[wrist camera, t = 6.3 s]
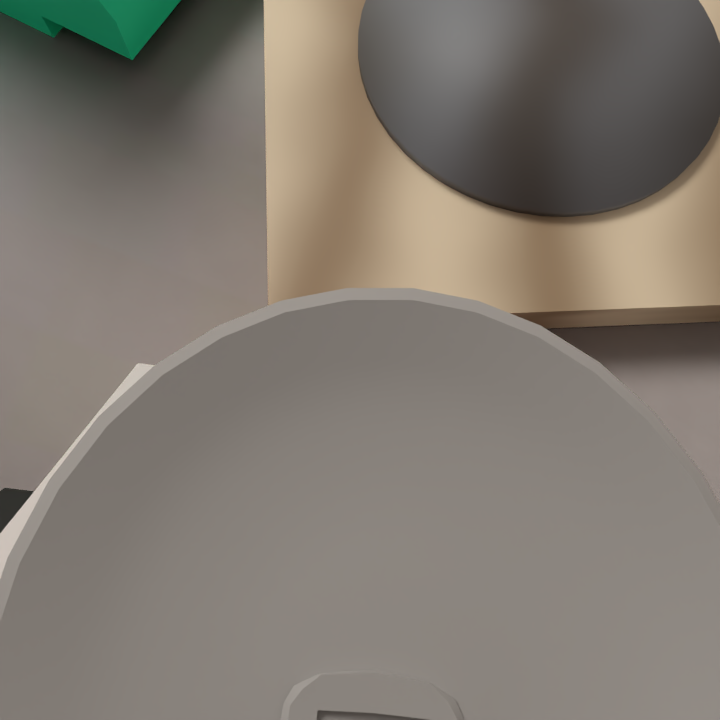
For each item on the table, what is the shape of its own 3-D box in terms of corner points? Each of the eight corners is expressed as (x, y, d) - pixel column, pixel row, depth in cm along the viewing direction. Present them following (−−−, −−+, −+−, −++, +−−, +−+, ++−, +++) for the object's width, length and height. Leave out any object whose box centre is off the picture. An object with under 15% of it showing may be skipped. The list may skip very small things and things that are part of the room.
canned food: (228, 782, 14) (-59, 1468, 4) (194, 461, 17) (-52, 338, 6) (525, 713, 15) (967, 1137, 5) (454, 414, 17) (645, 231, 7)
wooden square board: (273, 339, 18) (267, 318, 16) (266, -101, 23) (260, -153, 21) (839, 316, 19) (890, 294, 17) (712, -100, 24) (742, -149, 22)
